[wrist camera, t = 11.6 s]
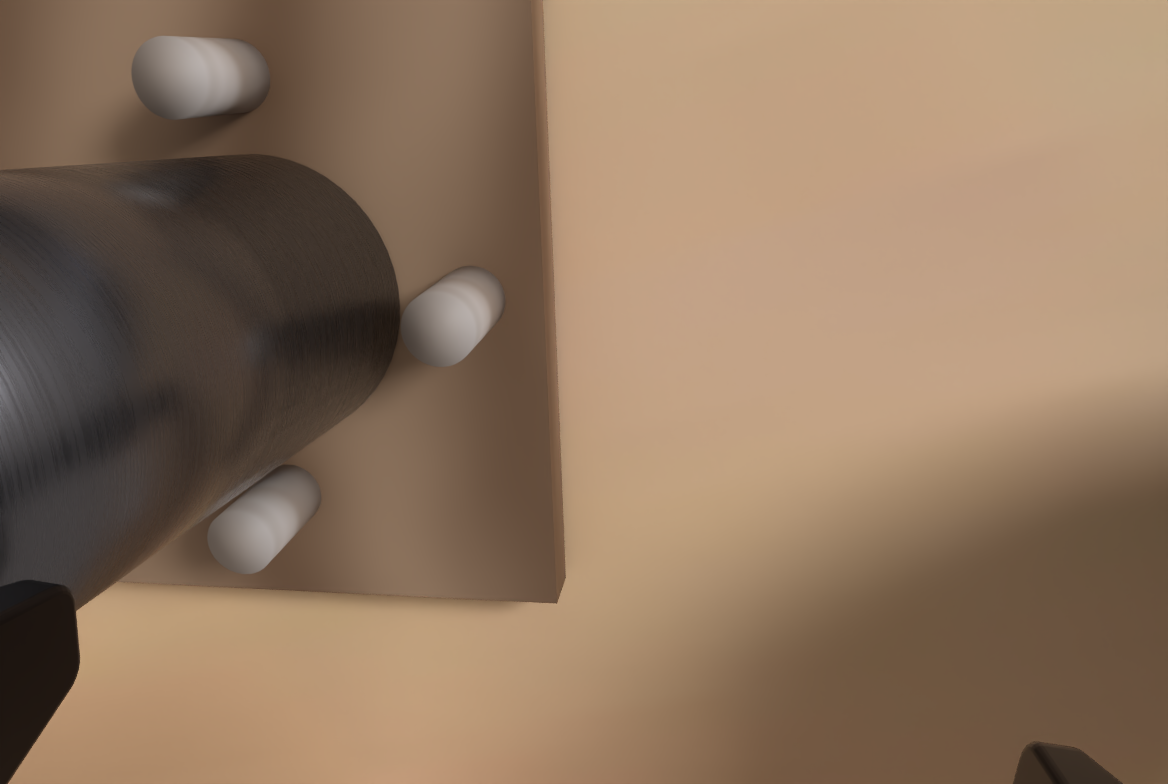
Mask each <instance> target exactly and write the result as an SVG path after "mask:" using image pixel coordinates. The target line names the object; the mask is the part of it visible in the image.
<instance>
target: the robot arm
mask: <svg viewBox="0 0 1168 784" xmlns="http://www.w3.org/2000/svg"><path fill="white" fill-rule="evenodd" d="M79 664H80V652H79V641H78V630H77V619H76V607H75V600H74V596H73V594H72V592H71V590H70V589H69V588H67V587H66V586H64V585H60V584H54V583H48V582H42V581H36V580H22V581H18V582H14V583H11V584H8V585H4V586H1V587H0V784H8V782H9V781H10V779H11V778H12V776H13V775H14V773H15V772H16V770H17V769H18V767H19V766H20V764H21V763H22V761H23V760H24V758H25V757H26V755H27V754H28V752H29V751H30V749H31V748H32V746H33V745H34V743H35V742H36V740H37V739H38V737H39V736H40V734H41V733H42V731H43V730H44V728H45V727H46V725H47V724H48V722H49V721H50V719H51V718H52V716H53V715H54V713H55V712H56V710H57V709H58V707H59V706H60V704H61V703H62V701H63V700H64V698H65V697H66V695H67V693H68V692H69V690H70V689H71V687H72V685H73V684H74V681H75V679H76V677H77V674H78V670H79ZM1013 784H1123V783H1121V782H1120V781H1119V780H1118V779H1116V778H1115V777H1114V776H1113V775H1111V774H1110V773H1109V772H1108V771H1106V770H1105V769H1104V768H1103V767H1101V766H1100V765H1099V764H1098V763H1096V762H1095V761H1094V760H1093V759H1091V758H1090V757H1089V756H1088V755H1086V754H1085V753H1084V752H1082V751H1081V750H1079V749H1077V748H1074V747H1068V746H1062V745H1055V744H1049V743H1042V742H1032V743H1030V744H1028V745H1027V746H1026V747H1025V749H1024V750H1023V752H1022V754H1021V757H1020V760H1019V764H1018V767H1017V771H1016V774H1015V778H1014V781H1013Z"/></svg>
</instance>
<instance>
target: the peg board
mask: <svg viewBox="0 0 1168 784" xmlns="http://www.w3.org/2000/svg"><path fill="white" fill-rule="evenodd" d="M239 154H261V155H272V156H276V157H280V158H284V159H289V160H292V161H294V162H297V163H299V164H302V165H305V166H307V167H309V168H311V169H313V170H315V171H317V172H318V173H320V174H322V175H324V176H325V177H327V178H328V179H330V180H331V181H332V182H334V183H335V184H336V185H338V186H339V187H341V188H342V189H343V190H344V191H345V192H346V193H347V194H348V195H349V196H350V197H351V198H352V199H354V200H355V201H356V203H357V204H358V205H359V206H360V207H361V209H362V210H363V211H364V212H365V213H366V215H367V216H368V217H369V219H370V220H371V222H372V223H373V225H374V226H375V228H376V229H377V231H378V232H379V234H380V236H381V238H382V240H383V242H384V244H385V246H386V248H387V250H388V253H389V256H390V259H391V262H392V264H393V267H394V271H395V275H396V279H397V284H398V289H399V299H400V326H399V333H398V339H397V344H396V348H395V351H394V354H393V357H392V361H391V363H390V365H389V367H388V369H387V372H386V374H385V376H384V378H383V379H382V381H381V382H380V384H379V385H378V387H377V388H376V390H375V391H374V392H373V394H372V395H371V396H370V397H369V398H368V399H367V400H366V402H365V403H364V404H363V405H361V406H360V407H359V408H358V409H357V410H356V411H354V412H353V413H352V414H351V415H349V416H348V417H347V418H345V419H344V420H342V421H341V422H340V423H338V424H337V425H335V426H334V427H333V428H331V429H330V430H328V431H327V432H326V433H324V434H323V435H321V436H320V437H319V438H317V439H316V440H314V441H313V442H312V443H310V444H309V445H307V446H306V447H305V448H303V449H302V450H300V451H299V452H298V453H296V454H295V455H293V456H292V457H291V458H289V459H288V460H286V461H285V462H284V463H282V464H281V465H279V466H278V467H277V468H275V469H274V470H272V471H271V472H270V473H268V474H267V475H265V476H264V477H263V478H261V479H260V480H258V481H257V482H256V483H254V484H253V485H251V486H250V487H249V488H247V489H246V490H244V491H243V492H242V493H240V494H239V495H237V496H236V497H235V498H233V499H232V500H230V501H229V502H228V503H226V504H225V505H223V506H222V507H221V508H219V509H218V510H216V511H215V512H214V513H212V514H211V515H209V516H208V517H207V518H205V519H204V520H202V521H201V522H200V523H198V524H197V525H195V526H194V527H193V528H191V529H190V530H188V531H187V532H186V533H184V534H183V535H181V536H180V537H179V538H177V539H176V540H174V541H173V542H172V543H170V544H169V545H167V546H166V547H165V548H163V549H162V550H160V551H159V552H158V553H156V554H155V555H153V556H152V557H151V558H149V559H148V560H146V561H145V562H144V563H142V564H141V565H139V566H138V567H137V568H135V569H134V570H132V571H131V572H130V573H128V574H127V575H125V576H124V577H123V578H121V579H120V580H119V581H117V582H133V583H153V584H173V585H194V586H214V587H234V588H254V589H275V590H295V591H315V592H335V593H356V594H376V595H396V596H416V597H436V598H457V599H477V600H497V601H517V602H538V603H557V602H558V599H559V596H560V593H561V590H562V587H563V584H564V581H565V578H566V574H565V549H564V524H563V498H562V473H561V448H560V423H559V398H558V373H557V348H556V323H555V297H554V272H553V247H552V222H551V197H550V172H549V147H548V122H547V97H546V71H545V46H544V21H543V0H0V170H7V169H22V168H38V167H53V166H69V165H84V164H99V163H115V162H130V161H146V160H161V159H176V158H192V157H207V156H223V155H239Z"/></svg>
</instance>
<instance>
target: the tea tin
mask: <svg viewBox="0 0 1168 784" xmlns="http://www.w3.org/2000/svg"><path fill="white" fill-rule="evenodd" d="M399 326H400V299H399V289H398V284H397V279H396V275H395V271H394V267H393V264H392V262H391V259H390V256H389V253H388V250H387V248H386V246H385V244H384V242H383V240H382V238H381V236H380V234H379V232H378V231H377V229H376V228H375V226H374V225H373V223H372V222H371V220H370V219H369V217H368V216H367V215H366V213H365V212H364V211H363V210H362V209H361V207H360V206H359V205H358V204H357V203H356V201H355V200H354V199H352V198H351V197H350V196H349V195H348V194H347V193H346V192H345V191H344V190H343V189H342V188H341V187H339V186H338V185H336V184H335V183H334V182H332V181H331V180H330V179H328V178H327V177H325V176H324V175H322V174H320V173H318V172H317V171H315V170H313V169H311V168H309V167H307V166H305V165H302V164H299V163H297V162H294V161H292V160H289V159H284V158H280V157H276V156H272V155H261V154H239V155H223V156H207V157H192V158H176V159H161V160H146V161H130V162H115V163H99V164H84V165H69V166H53V167H38V168H22V169H7V170H0V587H1V586H4V585H8V584H11V583H14V582H18V581H22V580H36V581H42V582H48V583H54V584H60V585H64V586H66V587H67V588H69V589H70V590H71V592H72V594H73V596H74V600H75V607H76V611H77V610H78V609H79V608H81V607H82V606H84V605H85V604H86V603H88V602H89V601H91V600H92V599H93V598H95V597H96V596H98V595H99V594H100V593H102V592H103V591H105V590H106V589H107V588H109V587H110V586H112V585H113V584H114V583H116V582H117V581H119V580H120V579H121V578H123V577H124V576H125V575H127V574H128V573H130V572H131V571H132V570H134V569H135V568H137V567H138V566H139V565H141V564H142V563H144V562H145V561H146V560H148V559H149V558H151V557H152V556H153V555H155V554H156V553H158V552H159V551H160V550H162V549H163V548H165V547H166V546H167V545H169V544H170V543H172V542H173V541H174V540H176V539H177V538H179V537H180V536H181V535H183V534H184V533H186V532H187V531H188V530H190V529H191V528H193V527H194V526H195V525H197V524H198V523H200V522H201V521H202V520H204V519H205V518H207V517H208V516H209V515H211V514H212V513H214V512H215V511H216V510H218V509H219V508H221V507H222V506H223V505H225V504H226V503H228V502H229V501H230V500H232V499H233V498H235V497H236V496H237V495H239V494H240V493H242V492H243V491H244V490H246V489H247V488H249V487H250V486H251V485H253V484H254V483H256V482H257V481H258V480H260V479H261V478H263V477H264V476H265V475H267V474H268V473H270V472H271V471H272V470H274V469H275V468H277V467H278V466H279V465H281V464H282V463H284V462H285V461H286V460H288V459H289V458H291V457H292V456H293V455H295V454H296V453H298V452H299V451H300V450H302V449H303V448H305V447H306V446H307V445H309V444H310V443H312V442H313V441H314V440H316V439H317V438H319V437H320V436H321V435H323V434H324V433H326V432H327V431H328V430H330V429H331V428H333V427H334V426H335V425H337V424H338V423H340V422H341V421H342V420H344V419H345V418H347V417H348V416H349V415H351V414H352V413H353V412H354V411H356V410H357V409H358V408H359V407H360V406H361V405H363V404H364V403H365V402H366V400H367V399H368V398H369V397H370V396H371V395H372V394H373V392H374V391H375V390H376V388H377V387H378V385H379V384H380V382H381V381H382V379H383V378H384V376H385V374H386V372H387V369H388V367H389V365H390V363H391V361H392V357H393V354H394V351H395V348H396V344H397V339H398V333H399Z"/></svg>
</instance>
